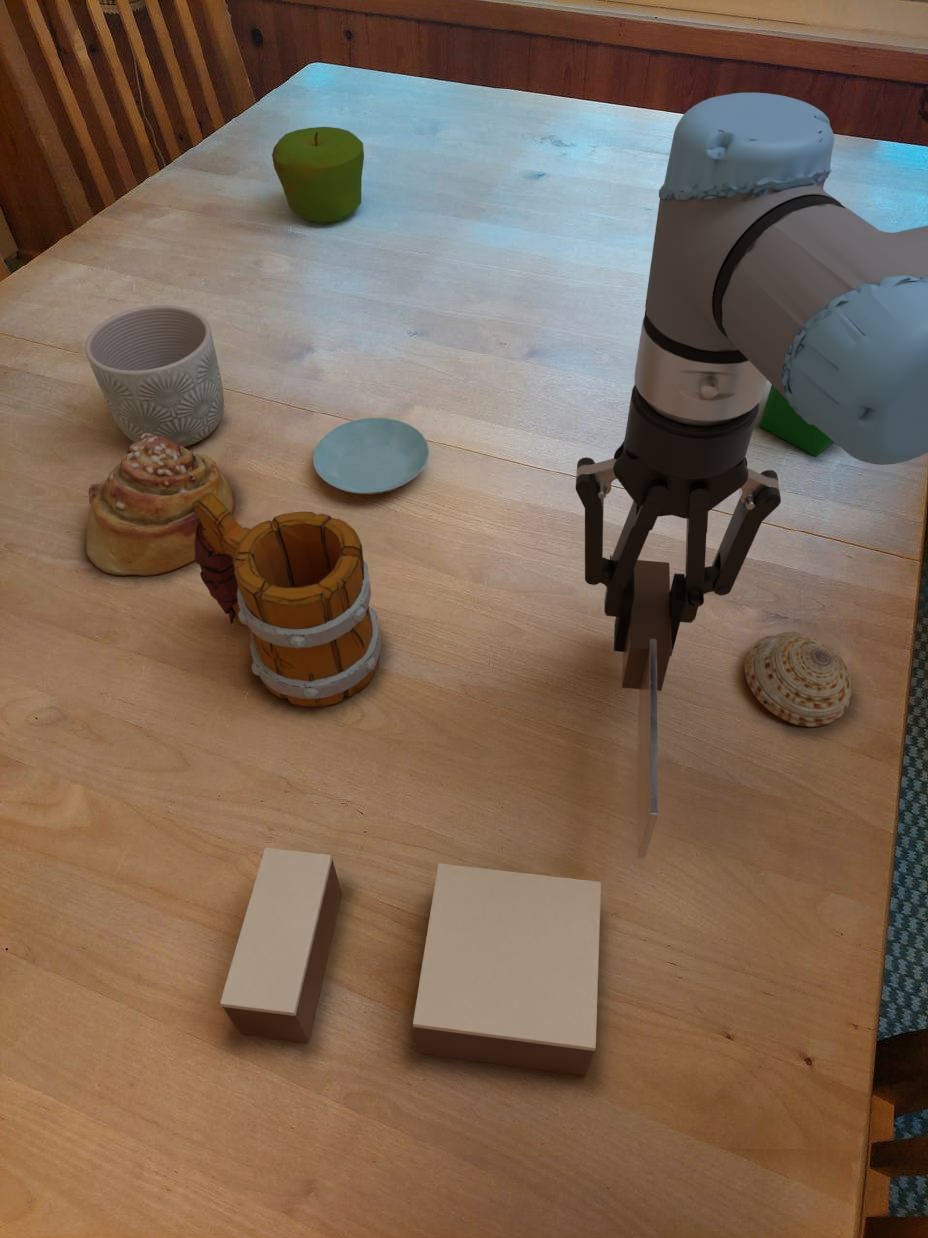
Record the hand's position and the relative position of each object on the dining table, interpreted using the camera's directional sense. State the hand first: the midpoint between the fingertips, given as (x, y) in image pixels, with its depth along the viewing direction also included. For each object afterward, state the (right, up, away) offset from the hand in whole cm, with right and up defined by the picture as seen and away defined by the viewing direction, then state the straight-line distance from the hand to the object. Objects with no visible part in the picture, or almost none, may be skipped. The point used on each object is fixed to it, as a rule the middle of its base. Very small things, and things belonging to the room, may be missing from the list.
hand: (642, 639), depth 71 cm
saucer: (-24, +17, +22) cm, 36 cm away
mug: (-29, -1, +7) cm, 29 cm away
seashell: (+13, -4, +3) cm, 14 cm away
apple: (-34, +61, +60) cm, 92 cm away
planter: (-46, +23, +27) cm, 58 cm away
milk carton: (+23, +22, +25) cm, 41 cm away
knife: (-1, -6, -4) cm, 7 cm away
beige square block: (-11, -22, -12) cm, 28 cm away
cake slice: (-26, -21, -11) cm, 35 cm away
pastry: (-44, +11, +17) cm, 48 cm away
